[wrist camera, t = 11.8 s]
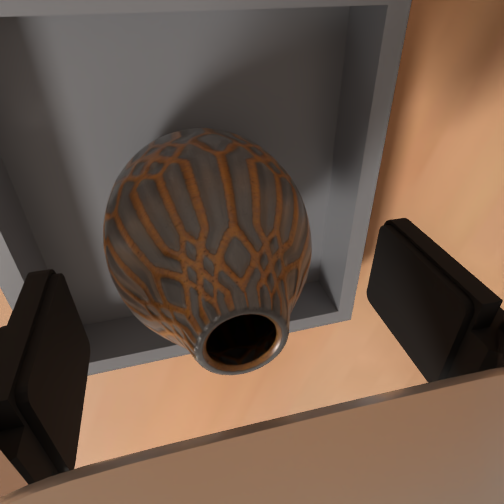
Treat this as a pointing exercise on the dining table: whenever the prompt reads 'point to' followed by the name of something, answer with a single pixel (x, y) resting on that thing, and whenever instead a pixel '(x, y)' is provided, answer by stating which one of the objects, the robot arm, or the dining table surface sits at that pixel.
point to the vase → (209, 246)
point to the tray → (181, 118)
